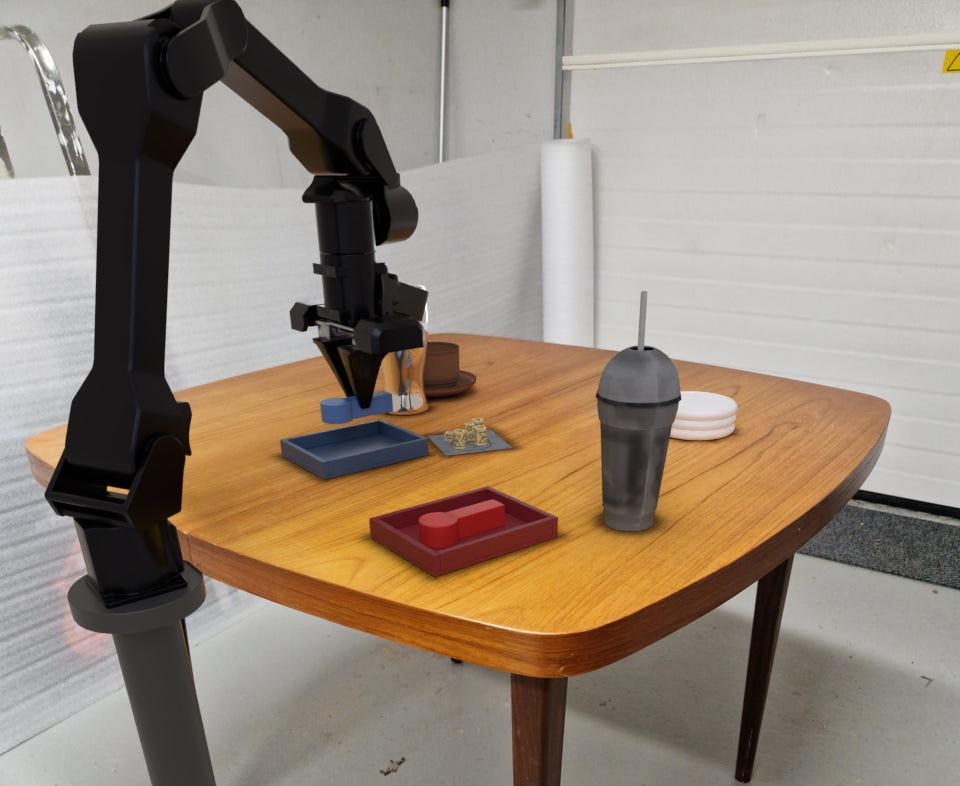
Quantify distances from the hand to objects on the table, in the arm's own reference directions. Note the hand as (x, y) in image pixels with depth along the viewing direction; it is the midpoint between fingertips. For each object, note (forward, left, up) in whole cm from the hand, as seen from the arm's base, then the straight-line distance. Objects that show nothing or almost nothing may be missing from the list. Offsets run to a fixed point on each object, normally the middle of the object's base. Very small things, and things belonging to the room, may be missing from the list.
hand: (360, 406), depth 94 cm
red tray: (-5, -26, -5) cm, 28 cm away
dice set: (+12, -4, -6) cm, 14 cm away
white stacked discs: (+36, -17, -6) cm, 40 cm away
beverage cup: (+9, -33, -6) cm, 35 cm away
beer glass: (+14, +13, -6) cm, 20 cm away
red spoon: (-5, -26, -5) cm, 27 cm away
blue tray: (-1, 0, -5) cm, 6 cm away
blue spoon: (0, 0, -1) cm, 1 cm away
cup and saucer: (+22, +18, -6) cm, 29 cm away
